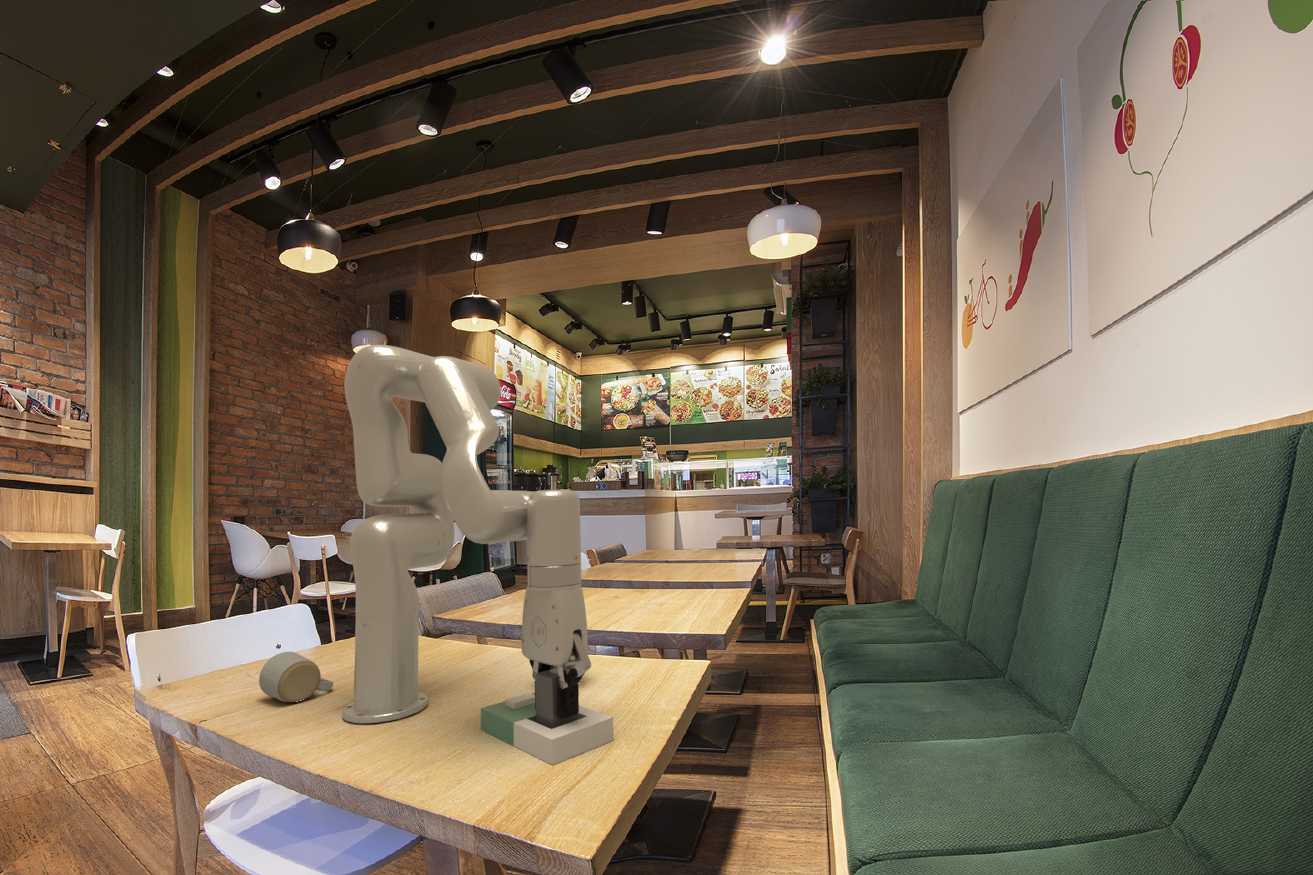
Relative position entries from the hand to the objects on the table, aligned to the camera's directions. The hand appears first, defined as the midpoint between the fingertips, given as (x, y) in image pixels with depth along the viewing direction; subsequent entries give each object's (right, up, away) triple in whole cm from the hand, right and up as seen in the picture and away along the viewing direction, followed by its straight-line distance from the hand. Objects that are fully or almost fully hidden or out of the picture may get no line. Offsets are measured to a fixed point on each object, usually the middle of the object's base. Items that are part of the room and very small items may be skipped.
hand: (556, 710), depth 81 cm
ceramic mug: (-50, -9, +23) cm, 56 cm away
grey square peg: (0, -4, 0) cm, 4 cm away
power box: (-2, -4, +2) cm, 5 cm away
